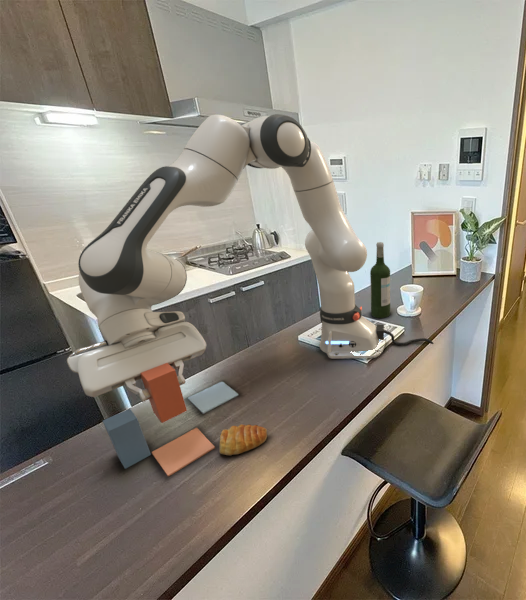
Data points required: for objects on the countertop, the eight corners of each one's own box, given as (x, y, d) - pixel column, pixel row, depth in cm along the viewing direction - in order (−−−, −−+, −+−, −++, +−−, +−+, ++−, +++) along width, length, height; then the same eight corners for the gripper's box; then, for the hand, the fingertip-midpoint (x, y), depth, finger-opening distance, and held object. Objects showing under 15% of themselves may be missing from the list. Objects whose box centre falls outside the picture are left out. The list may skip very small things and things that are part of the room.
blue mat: (187, 398, 85) (187, 397, 85) (222, 382, 92) (222, 381, 92) (203, 414, 80) (202, 412, 80) (238, 395, 87) (238, 394, 87)
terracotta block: (153, 413, 66) (139, 371, 62) (178, 401, 69) (166, 361, 65) (162, 423, 63) (147, 380, 59) (187, 410, 66) (175, 369, 62)
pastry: (267, 427, 77) (265, 414, 75) (267, 449, 71) (264, 436, 69) (223, 436, 74) (220, 424, 72) (219, 460, 68) (215, 447, 66)
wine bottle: (376, 309, 140) (375, 239, 128) (393, 312, 137) (393, 241, 125) (367, 316, 133) (365, 243, 122) (384, 319, 130) (384, 246, 118)
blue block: (118, 457, 68) (102, 420, 64) (143, 444, 71) (129, 408, 68) (125, 469, 66) (108, 431, 62) (151, 454, 69) (137, 418, 65)
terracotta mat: (151, 453, 69) (151, 452, 69) (197, 428, 76) (196, 427, 76) (168, 476, 64) (167, 475, 64) (215, 448, 71) (214, 446, 71)
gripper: (60, 347, 55) (95, 417, 54) (190, 309, 71) (220, 363, 69) (64, 360, 60) (97, 425, 58) (186, 321, 75) (215, 373, 73)
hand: (165, 391), depth 64 cm, fingers closed on terracotta block, 4 cm apart
